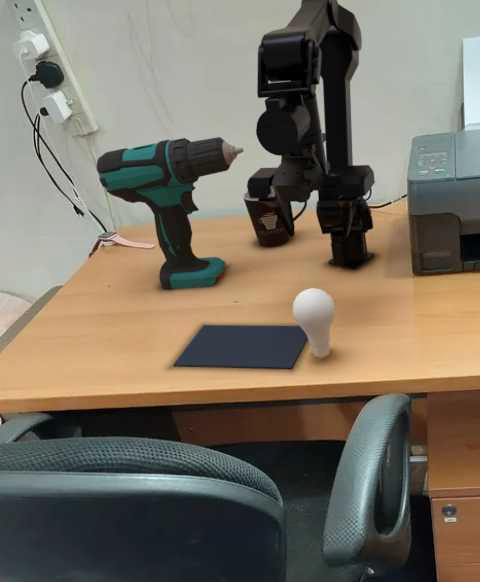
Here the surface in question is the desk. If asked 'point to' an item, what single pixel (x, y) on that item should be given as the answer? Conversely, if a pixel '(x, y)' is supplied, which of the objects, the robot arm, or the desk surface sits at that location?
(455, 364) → the desk surface
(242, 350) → the felt mat
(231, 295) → the desk surface
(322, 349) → the white rounded smooth part
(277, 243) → the coffee mug
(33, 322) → the desk surface
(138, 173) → the power drill
